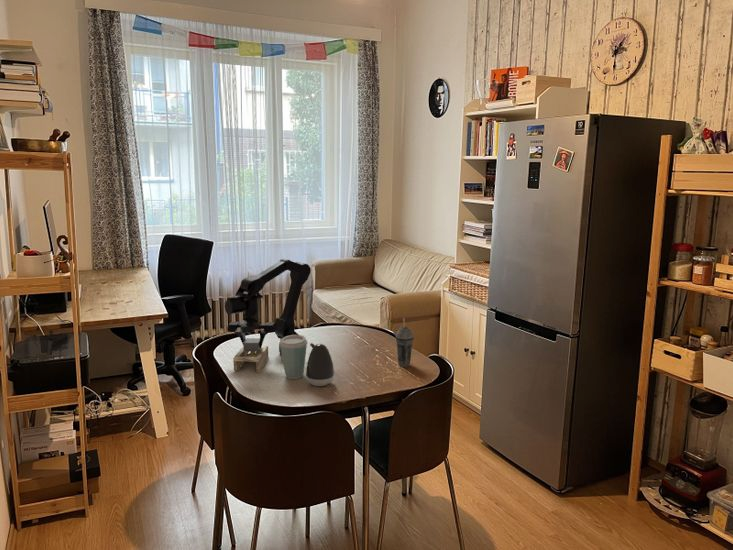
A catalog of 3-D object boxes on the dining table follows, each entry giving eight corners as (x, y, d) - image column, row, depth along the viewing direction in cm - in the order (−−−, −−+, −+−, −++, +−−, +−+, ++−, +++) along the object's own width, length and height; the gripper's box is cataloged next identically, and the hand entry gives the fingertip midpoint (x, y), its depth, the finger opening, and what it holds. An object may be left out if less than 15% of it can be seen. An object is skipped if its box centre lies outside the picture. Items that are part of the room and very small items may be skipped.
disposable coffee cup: (300, 382, 212) (299, 343, 209) (274, 378, 216) (273, 340, 213) (312, 373, 222) (312, 335, 219) (287, 369, 226) (287, 332, 223)
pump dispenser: (322, 376, 219) (321, 338, 216) (339, 384, 211) (339, 344, 208) (300, 383, 212) (299, 343, 209) (318, 391, 204) (317, 350, 202)
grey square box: (262, 355, 235) (261, 338, 234) (258, 360, 229) (258, 343, 228) (247, 355, 236) (246, 338, 234) (243, 360, 230) (243, 342, 228)
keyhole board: (268, 358, 238) (268, 345, 237) (259, 372, 223) (258, 358, 222) (244, 357, 239) (244, 345, 238) (233, 371, 223) (233, 358, 222)
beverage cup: (415, 363, 233) (416, 315, 229) (409, 369, 227) (410, 320, 223) (399, 360, 236) (399, 313, 232) (392, 366, 230) (392, 318, 226)
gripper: (222, 315, 221) (224, 353, 224) (270, 315, 220) (271, 354, 223) (230, 307, 232) (232, 344, 235) (276, 308, 231) (277, 345, 234)
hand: (252, 347), depth 232 cm, fingers closed on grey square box, 6 cm apart
